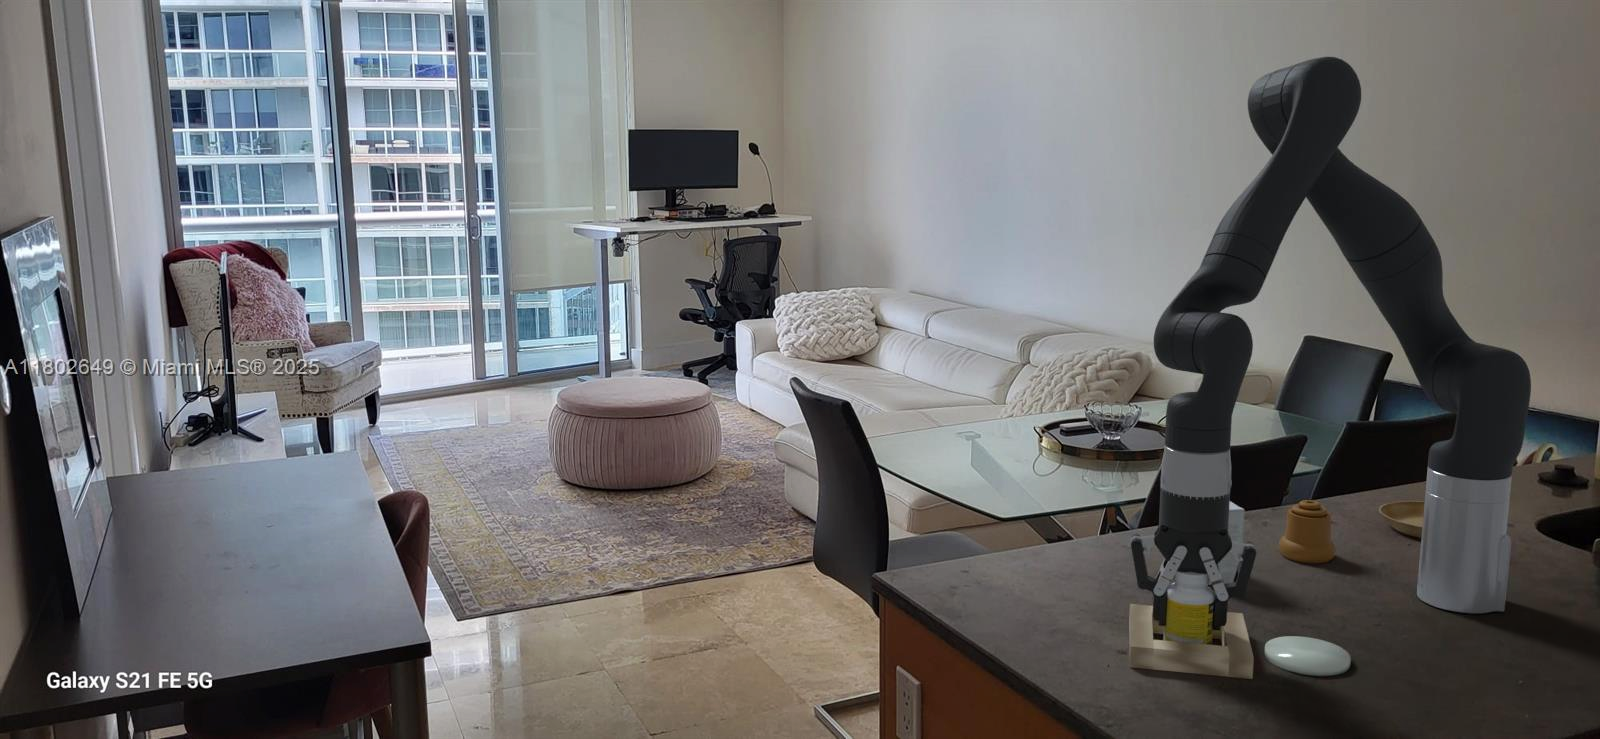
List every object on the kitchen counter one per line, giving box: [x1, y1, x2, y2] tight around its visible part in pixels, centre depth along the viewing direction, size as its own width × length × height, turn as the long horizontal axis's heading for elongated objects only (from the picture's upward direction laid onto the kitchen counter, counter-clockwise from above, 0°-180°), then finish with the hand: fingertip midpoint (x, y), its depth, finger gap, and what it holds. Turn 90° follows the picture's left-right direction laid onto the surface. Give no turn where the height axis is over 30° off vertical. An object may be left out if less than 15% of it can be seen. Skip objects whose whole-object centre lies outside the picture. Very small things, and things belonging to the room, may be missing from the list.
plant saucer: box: [1378, 500, 1425, 539], centre depth 179 cm, size 15×15×3 cm
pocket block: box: [1128, 603, 1255, 680], centre depth 137 cm, size 13×13×2 cm
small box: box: [1207, 500, 1246, 586], centre depth 160 cm, size 8×6×10 cm
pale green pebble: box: [1264, 635, 1352, 677], centre depth 134 cm, size 9×9×1 cm
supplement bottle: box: [1162, 571, 1215, 645], centre depth 136 cm, size 5×5×10 cm
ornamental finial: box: [1278, 499, 1337, 565], centre depth 167 cm, size 8×8×8 cm
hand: (1188, 625), depth 137 cm, fingers closed on supplement bottle, 5 cm apart
